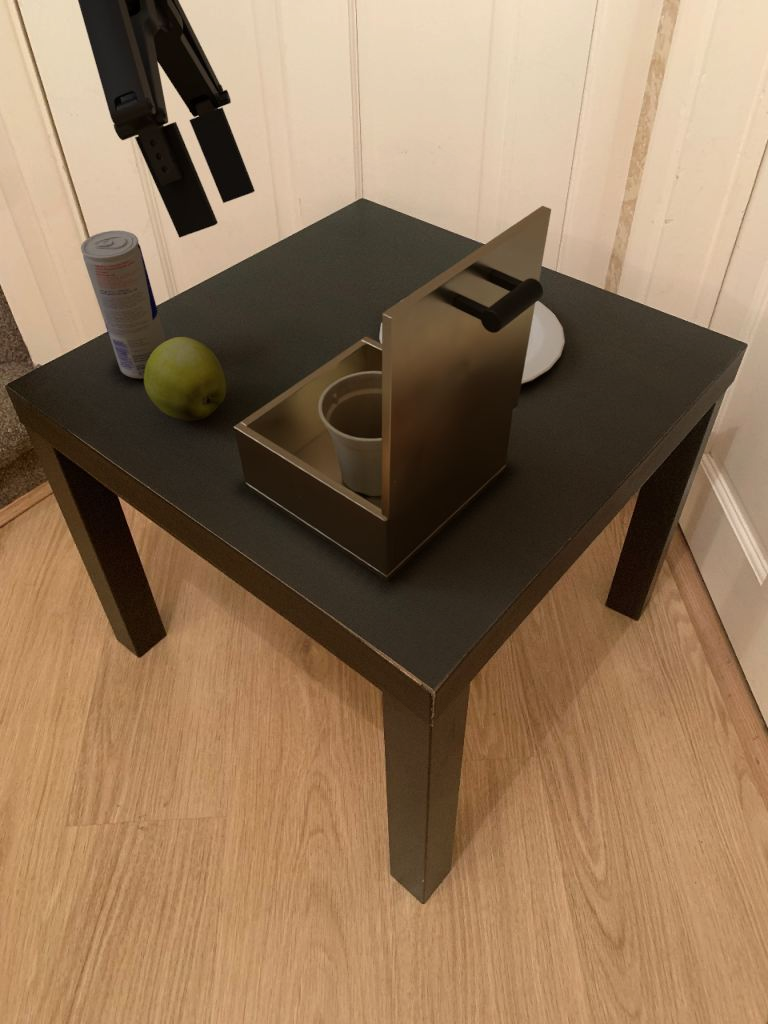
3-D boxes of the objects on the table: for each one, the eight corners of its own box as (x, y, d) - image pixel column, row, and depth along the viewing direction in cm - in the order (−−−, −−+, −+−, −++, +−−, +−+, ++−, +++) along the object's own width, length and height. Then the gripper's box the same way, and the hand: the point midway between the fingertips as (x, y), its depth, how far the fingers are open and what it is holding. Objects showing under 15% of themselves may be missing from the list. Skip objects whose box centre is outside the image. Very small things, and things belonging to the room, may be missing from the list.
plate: (454, 275, 100) (454, 262, 99) (598, 336, 91) (600, 323, 90) (341, 350, 90) (340, 338, 89) (490, 428, 80) (491, 416, 79)
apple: (198, 374, 88) (183, 312, 82) (247, 412, 83) (235, 349, 77) (137, 406, 84) (117, 343, 78) (185, 448, 79) (167, 384, 74)
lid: (381, 313, 48) (441, 343, 46) (542, 205, 57) (598, 226, 55) (381, 514, 62) (427, 544, 60) (510, 402, 70) (554, 425, 68)
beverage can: (181, 364, 89) (149, 240, 78) (140, 388, 86) (100, 263, 75) (152, 345, 92) (117, 222, 81) (110, 367, 89) (68, 243, 78)
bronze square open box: (246, 488, 75) (233, 426, 70) (368, 397, 84) (365, 335, 79) (387, 582, 67) (385, 520, 62) (505, 470, 76) (513, 408, 71)
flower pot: (445, 472, 75) (448, 401, 69) (376, 527, 71) (372, 456, 64) (374, 428, 80) (371, 357, 73) (305, 476, 75) (295, 405, 69)
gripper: (98, -78, 61) (213, 200, 71) (-78, -143, 40) (122, 267, 50) (186, -117, 60) (291, 172, 70) (52, -208, 38) (231, 229, 48)
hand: (221, 212), depth 60 cm, fingers open, 13 cm apart
